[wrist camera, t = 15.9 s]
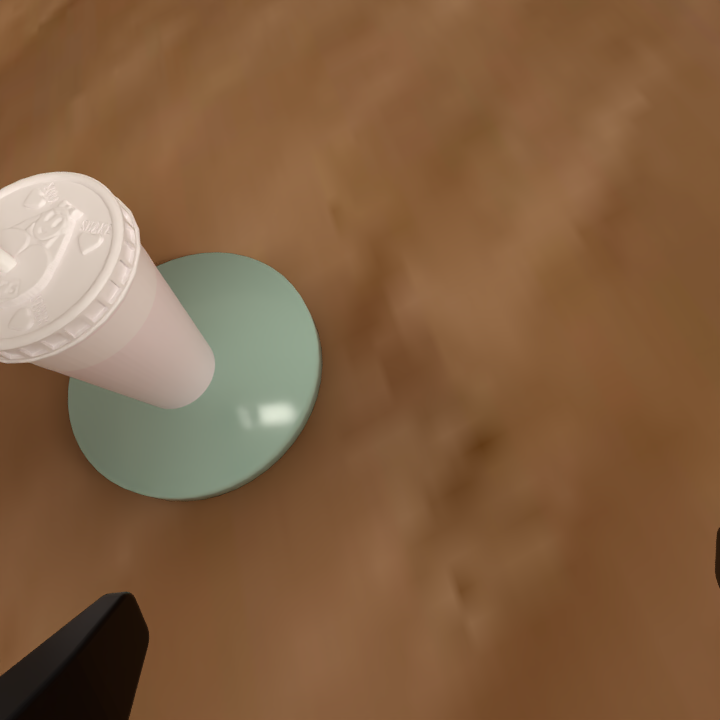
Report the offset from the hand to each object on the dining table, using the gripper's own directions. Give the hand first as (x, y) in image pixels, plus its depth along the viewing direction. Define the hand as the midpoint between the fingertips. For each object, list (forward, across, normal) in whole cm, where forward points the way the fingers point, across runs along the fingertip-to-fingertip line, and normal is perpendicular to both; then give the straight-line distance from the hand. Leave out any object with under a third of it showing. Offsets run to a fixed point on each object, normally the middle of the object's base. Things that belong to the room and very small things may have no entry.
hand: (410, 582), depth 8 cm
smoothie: (+16, +11, +2) cm, 20 cm away
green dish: (+17, +10, +2) cm, 20 cm away
